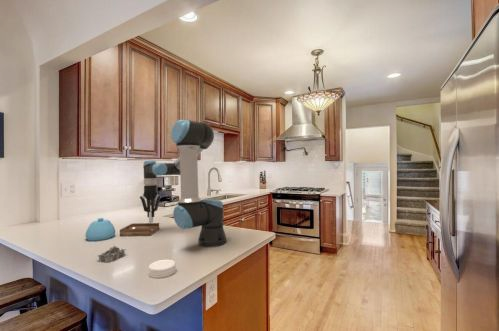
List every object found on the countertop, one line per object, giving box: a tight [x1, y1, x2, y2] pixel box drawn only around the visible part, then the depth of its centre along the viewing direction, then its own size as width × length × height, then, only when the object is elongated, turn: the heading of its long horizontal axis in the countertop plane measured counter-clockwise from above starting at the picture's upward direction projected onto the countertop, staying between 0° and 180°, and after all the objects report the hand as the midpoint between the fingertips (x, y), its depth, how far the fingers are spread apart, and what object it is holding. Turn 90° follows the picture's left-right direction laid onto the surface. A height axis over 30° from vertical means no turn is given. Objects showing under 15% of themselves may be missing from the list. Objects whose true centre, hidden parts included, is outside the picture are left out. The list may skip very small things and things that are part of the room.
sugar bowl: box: [84, 217, 116, 242], centre depth 144 cm, size 15×15×12 cm
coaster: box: [148, 259, 177, 279], centre depth 96 cm, size 10×10×4 cm
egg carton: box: [97, 245, 127, 263], centre depth 112 cm, size 11×8×4 cm
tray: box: [119, 222, 160, 237], centre depth 155 cm, size 16×18×4 cm
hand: (151, 222), depth 155 cm, fingers closed
